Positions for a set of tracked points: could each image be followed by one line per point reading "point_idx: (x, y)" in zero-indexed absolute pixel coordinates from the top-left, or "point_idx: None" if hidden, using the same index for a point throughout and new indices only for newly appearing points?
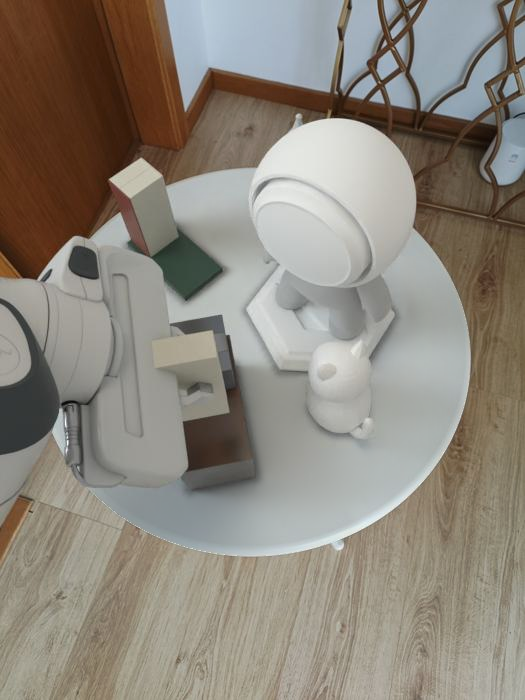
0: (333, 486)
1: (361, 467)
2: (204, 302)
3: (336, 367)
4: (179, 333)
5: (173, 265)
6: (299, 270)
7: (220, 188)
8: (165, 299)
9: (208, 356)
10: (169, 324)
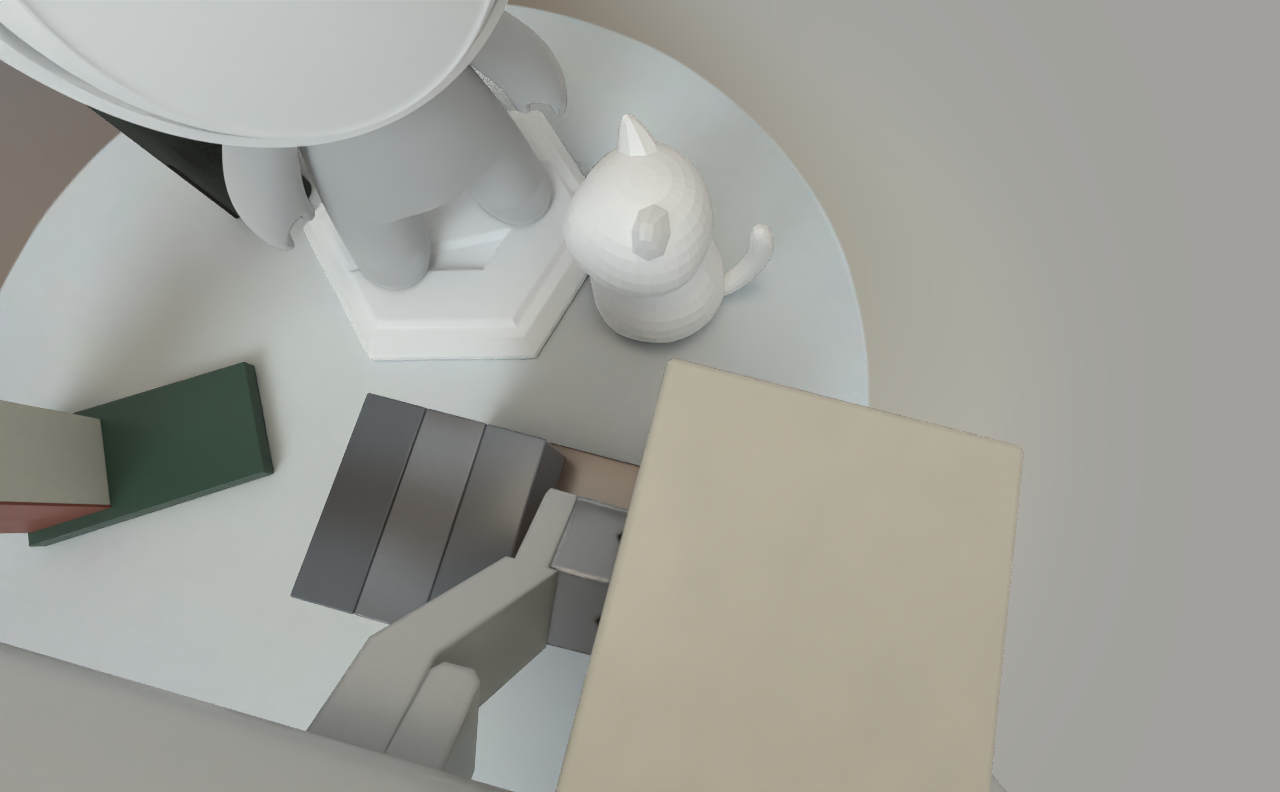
0: (794, 373)
1: (782, 312)
2: (302, 435)
3: (657, 203)
4: (426, 639)
5: (167, 462)
6: (373, 80)
7: (44, 277)
8: (23, 675)
9: (999, 541)
10: (312, 743)
